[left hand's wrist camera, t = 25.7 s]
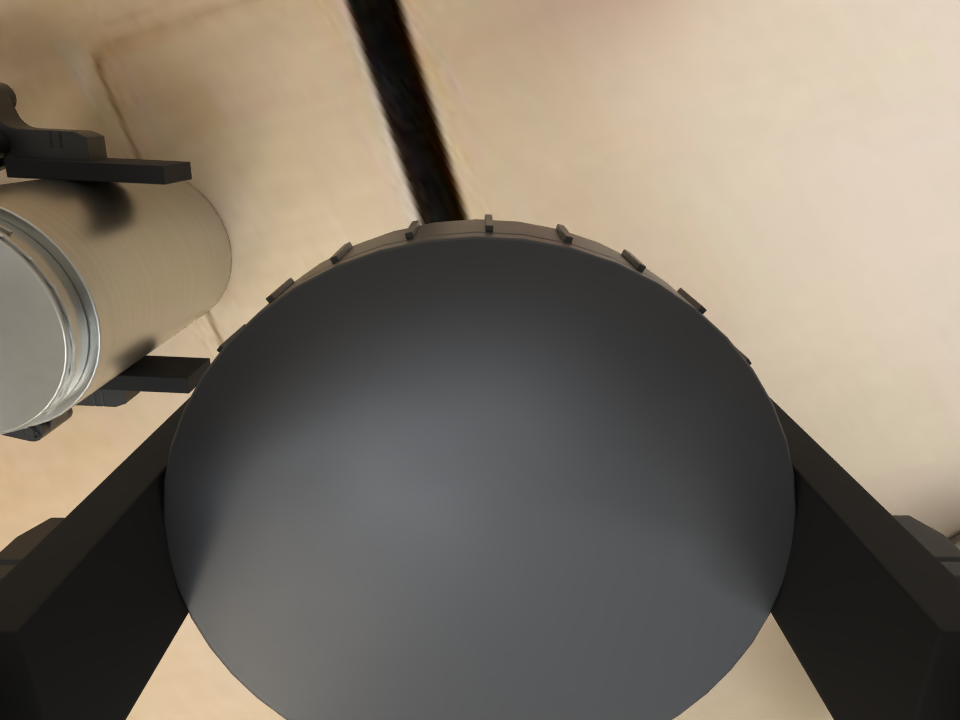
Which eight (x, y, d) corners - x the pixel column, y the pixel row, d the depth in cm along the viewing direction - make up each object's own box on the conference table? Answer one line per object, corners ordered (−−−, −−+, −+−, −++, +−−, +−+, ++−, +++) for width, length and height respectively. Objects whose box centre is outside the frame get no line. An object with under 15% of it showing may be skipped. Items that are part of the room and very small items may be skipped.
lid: (839, 575, 13) (889, 638, 11) (398, 769, 14) (389, 847, 13) (601, 86, 10) (623, 79, 8) (80, 406, 11) (18, 452, 10)
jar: (255, 304, 37) (122, 414, 23) (113, 342, 38) (-98, 469, 24) (193, 147, 34) (-1, 166, 20) (41, 191, 35) (-246, 238, 21)
